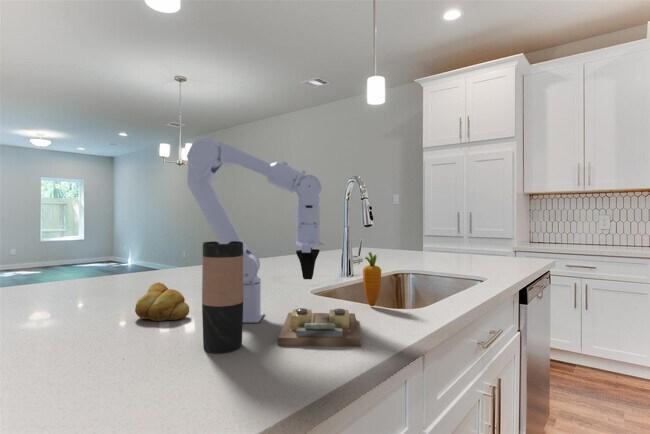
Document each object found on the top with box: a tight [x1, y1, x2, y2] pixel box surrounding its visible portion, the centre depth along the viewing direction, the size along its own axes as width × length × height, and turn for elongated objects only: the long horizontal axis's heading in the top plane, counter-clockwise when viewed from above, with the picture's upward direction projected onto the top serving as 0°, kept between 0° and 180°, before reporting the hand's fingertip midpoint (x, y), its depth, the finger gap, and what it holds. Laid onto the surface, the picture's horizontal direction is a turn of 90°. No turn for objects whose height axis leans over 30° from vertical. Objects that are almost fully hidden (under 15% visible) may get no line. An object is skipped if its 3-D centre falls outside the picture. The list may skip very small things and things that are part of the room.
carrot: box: [362, 251, 382, 307], centre depth 102 cm, size 5×5×15 cm
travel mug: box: [201, 240, 244, 354], centre depth 71 cm, size 8×8×20 cm
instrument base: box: [277, 312, 362, 347], centre depth 81 cm, size 16×18×4 cm
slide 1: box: [291, 307, 313, 330], centre depth 79 cm, size 4×5×4 cm
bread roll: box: [134, 282, 190, 322], centre depth 90 cm, size 13×10×8 cm
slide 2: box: [329, 308, 350, 331], centre depth 79 cm, size 4×5×4 cm
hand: (307, 278), depth 92 cm, fingers closed
